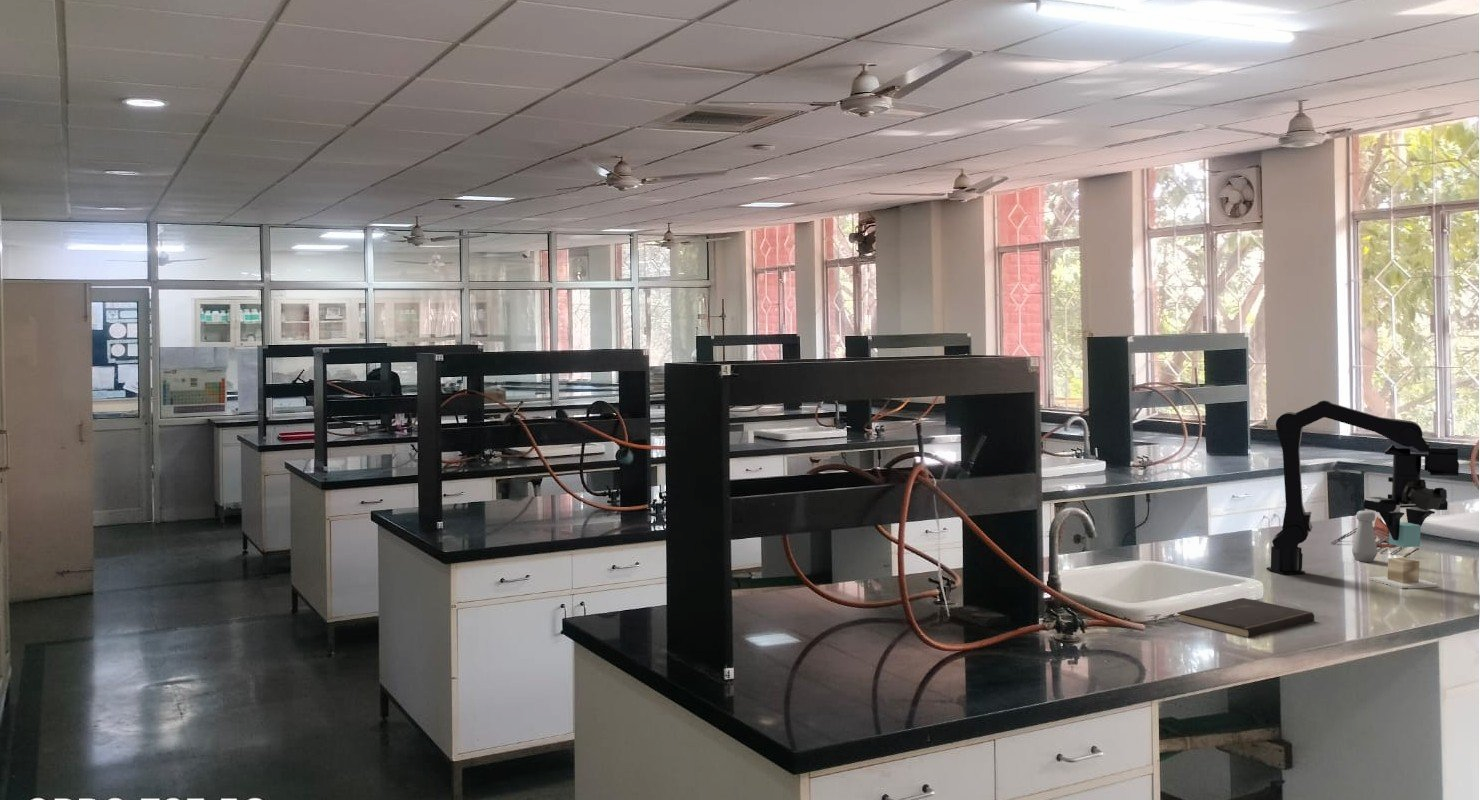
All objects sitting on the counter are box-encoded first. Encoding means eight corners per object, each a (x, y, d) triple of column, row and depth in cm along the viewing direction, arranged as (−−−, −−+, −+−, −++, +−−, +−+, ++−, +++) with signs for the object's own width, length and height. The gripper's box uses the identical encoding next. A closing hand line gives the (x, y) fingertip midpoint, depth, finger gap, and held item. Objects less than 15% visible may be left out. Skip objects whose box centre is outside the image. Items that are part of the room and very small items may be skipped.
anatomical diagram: (1368, 513, 323) (1446, 524, 299) (1377, 540, 324) (1456, 553, 300) (1316, 545, 318) (1391, 558, 294) (1326, 572, 319) (1401, 587, 295)
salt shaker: (1375, 563, 288) (1376, 513, 287) (1350, 560, 291) (1351, 511, 290) (1378, 560, 292) (1380, 510, 292) (1353, 557, 296) (1355, 508, 295)
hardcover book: (1177, 623, 230) (1177, 612, 230) (1242, 608, 243) (1242, 597, 243) (1249, 640, 217) (1249, 629, 217) (1314, 623, 230) (1314, 612, 230)
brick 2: (1402, 583, 262) (1403, 562, 262) (1387, 579, 267) (1388, 558, 266) (1418, 582, 263) (1419, 561, 263) (1403, 578, 268) (1404, 557, 267)
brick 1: (1403, 547, 262) (1404, 525, 261) (1388, 543, 266) (1389, 522, 266) (1419, 546, 263) (1420, 525, 262) (1404, 542, 267) (1405, 522, 267)
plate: (1401, 588, 259) (1401, 586, 259) (1368, 579, 269) (1369, 577, 269) (1438, 586, 261) (1438, 584, 261) (1404, 577, 271) (1404, 575, 271)
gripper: (1400, 479, 254) (1397, 547, 255) (1468, 477, 258) (1466, 544, 259) (1362, 473, 264) (1360, 538, 265) (1429, 471, 269) (1426, 536, 269)
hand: (1404, 539), depth 264 cm, fingers closed on brick 1, 4 cm apart
